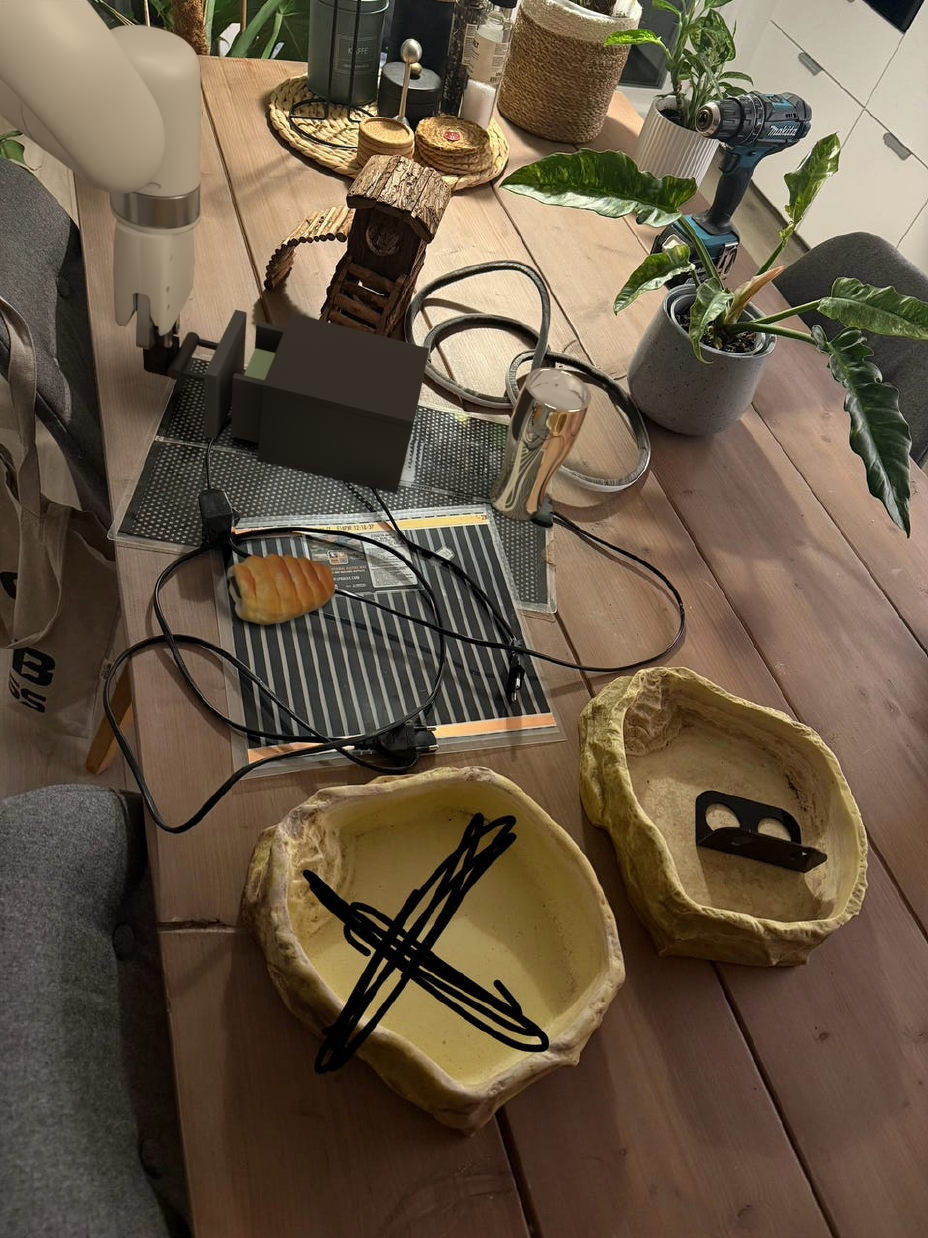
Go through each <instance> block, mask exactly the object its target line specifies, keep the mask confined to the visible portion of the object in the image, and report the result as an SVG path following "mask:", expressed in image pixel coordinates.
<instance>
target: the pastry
mask: <svg viewBox="0 0 928 1238" xmlns="http://www.w3.org/2000/svg"><path fill="white" fill-rule="evenodd" d="M226 577H227V578H228V580H229V587H228V589H229V590H228V591H229V593H230V595H231V597H232V599H233V602H235V605H234V610H235V613H236V616H237V617H238V618H240V619H241V620H243V621H246V622H250V623H253V624H256V625H261V626H269V625H273V624H284V623H285V622H287V621H292V620H293V619H297V618H300V617H302V616H304V615H306V614H309V613H311V612H314V611H316V610H318V609H320V608H322V607H323V606H325V605H326V603H328V601H330V600H331V599H332V597H333V596H334V594H335V592H336V589H335V587H336V582H335V579H334V572H333V570H332V568H331V567H329V566H327V565H325V564H323V563H321V562H319V561H315V560H312V559H309V558H308V557H306V556H302V557H295V556H293V555H292V554H285V555H279V554H275V553H268V554H266V555H265V556H264V557H260V556H258V555H256V554H253V555H249V556H247V557H246V558H245V559H244V560H243V561H242V562H237V563H234V564H233V565H231V566H230V567H228V569H227V572H226Z"/></svg>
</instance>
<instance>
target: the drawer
mask: <svg viewBox="0 0 928 1238" xmlns="http://www.w3.org/2000/svg"><path fill="white" fill-rule="evenodd" d="M247 316H248V313H247V311H243V310H239V309H235V310H234V312H233V314H232V316H231V318H230V320H229V322H228V324H227V326H226V327H225V330H224V332H223V334H222V337H221V339H220V340H219V342H215V341H212V340H208V339H204V338H200V336H199V334H198V333H196V332H195V331H188V332H187V333H186V335H185V336H184V338H183V340H182V343H181V344H180V348H179V350H178V352H177V354H176V356H175V357H174V359H173V361H172V363H171V365H170V367H169V369H168V371H167V374H168V376H169V377H168V378H170V379H171V380H173V381H179V380H181V379H182V378H184V379H188V380H192V381H196V382H201V383H203V384H204V387H203V388H204V389H203V395H204V396H203V397H204V398H203V437H204V438H208V439H211V440H216V439H217V437H218V435H219V432H220V430H221V428H222V426H223V424H224V422H225V419H226V416H227V415H228V413H229V409H230V407H231V410H230V411H231V414H230V437H233V438H236V439H237V438H238V439H241V440H246V441H249V442H254V443H258V444H259V434H260V420H261V406H262V391H263V383H264V380H262V379H258V378H254V377H250V376H246V375H244V374H245V358H246V337H247V320H248V319H247ZM285 328H286V327H283V326H278V325H274V324H271V323H267V322H263V321H259V320H258V321H257V323H256V325H255V335H254V337H255V340H254V350H255V349H260V350H264V351H268V352H272V353H276V351H277V348H278V346H279V343H280V341H281V338H282V336H283V333H284V331H285ZM198 347H200V348H204V349H208V350H212V351H214V352H213V355H212V357H211V359H210V361H209V363H208V365H207V368H206V369H205V371H204V373H200V372H196V371H193V370H188V369H187V367H188V365H189V363H190V362H191V359H192V358H193V355H194V353H195V352H196V350H197V348H198Z"/></svg>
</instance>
